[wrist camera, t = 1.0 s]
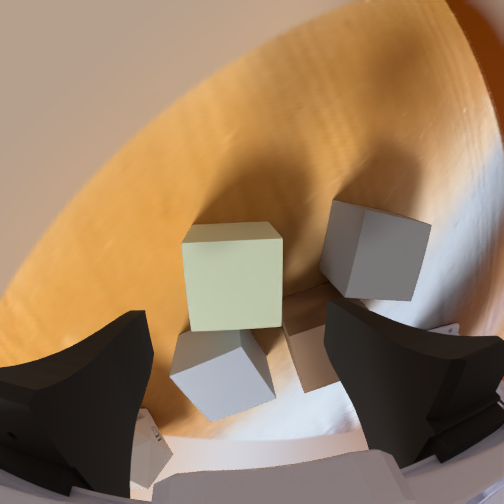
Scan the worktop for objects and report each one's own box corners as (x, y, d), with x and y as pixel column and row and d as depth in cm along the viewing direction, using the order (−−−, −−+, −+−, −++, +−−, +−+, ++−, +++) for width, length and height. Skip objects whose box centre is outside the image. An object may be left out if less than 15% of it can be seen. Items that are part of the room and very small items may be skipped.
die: (191, 424, 25) (161, 451, 16) (161, 483, 22) (125, 521, 13) (124, 384, 26) (72, 389, 17) (98, 443, 23) (47, 462, 14)
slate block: (236, 307, 21) (241, 346, 16) (266, 355, 22) (276, 398, 17) (178, 334, 21) (169, 376, 16) (211, 378, 22) (210, 422, 18)
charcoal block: (391, 212, 20) (431, 225, 15) (376, 274, 21) (410, 301, 16) (332, 199, 19) (365, 209, 14) (318, 268, 21) (344, 297, 16)
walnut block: (338, 278, 21) (367, 308, 16) (347, 332, 22) (372, 367, 18) (274, 299, 21) (288, 336, 16) (289, 352, 22) (304, 393, 18)
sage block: (268, 221, 19) (282, 238, 14) (268, 290, 21) (281, 326, 16) (192, 224, 19) (181, 243, 14) (197, 294, 20) (191, 331, 15)
